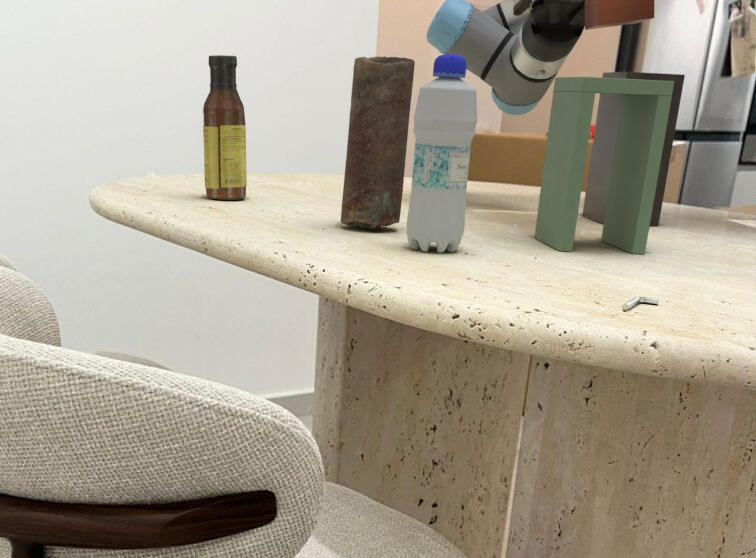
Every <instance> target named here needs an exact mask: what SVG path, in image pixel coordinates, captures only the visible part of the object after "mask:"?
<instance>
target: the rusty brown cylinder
mask: <svg viewBox="0 0 756 558" xmlns="http://www.w3.org/2000/svg"><path fill="white" fill-rule="evenodd" d="M415 65H416V62H415V60H414V59H412V58H408V57H398V56H389V57H388V56H370V57H366V56H361V57H360V56H359V57H356V58H355V59H354V64H353V73H352V86H351V94H350V95H351V97H350V110H349V119H348V120H349V121H348V131H347V132H348V134H347V145H346V156H345V167H344V177H343V188H342V199H341V212H340V223H341V224H343V225H347V226H353V227H355V228H359V229H362V230H364V229H365V230H378V229H380V228H382V227H389V226H392V225H395V224H399V223H400V219H401V211H402V210H401V209H402V203H403V192H404V181H405V171H406V159H407V158H406V157H407V149H408V137H409V126H410V125H409V124H410V114H411V104H412V96H413V86H414V75H415V67H416V66H415Z"/></svg>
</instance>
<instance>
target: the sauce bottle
mask: <svg viewBox="0 0 756 558" xmlns="http://www.w3.org/2000/svg"><path fill="white" fill-rule="evenodd" d="M237 59H238V58H237V56H236V55H228V54H227V55H225V54H224V55H223V54H215V55H208V66H209V77H210V79H209V80H210V83H209V93H208V94H207V96H206V99H205V101H204V103H203V107H202V110H203V111H202V113H203V125H202V133H203V137H202V138H203V165H204V169H203V170H204V171H203V172H204V188H205V192H206V193H205V194H206V197H207V198H208V199H210V200H217V201H218V200H219V201H238V200H243V199H245V198H246V197H247V186H248V185H247V184H248V183H247V181H248V180H247V131H246V130H247V127H246V116H245V114H246V113H245V107H244V104H243V101H242V99H241V96H240V94H239V92H238V89H237V86H238V84H237V67H238V60H237Z"/></svg>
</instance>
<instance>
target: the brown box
mask: <svg viewBox="0 0 756 558" xmlns="http://www.w3.org/2000/svg"><path fill="white" fill-rule="evenodd" d="M652 19H655V0H585V27H584V30H585V31H588V30H595V29H603V28H611V27H619V26H625V25H634V24H640V23H642V22H643V23H644V22H646V21H649V20H652Z"/></svg>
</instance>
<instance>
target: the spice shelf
mask: <svg viewBox="0 0 756 558" xmlns="http://www.w3.org/2000/svg"><path fill="white" fill-rule="evenodd" d="M685 77H686V74H680V73H660V72H659V73H657V72H640V71H614V72H610V71H609V72H602V77H601V78H620V79H640V80H659V81H674V86H673V92H672V98H671V104H670V110H669V116H668V121H667V127H666V133H665V139H664V145H663V151H662V156H661V162H660V168H659V174H658V180H657V185H656V191H655V197H654V203H653V209H652V214H651V220H650V226H649V227H659V225H660V220H661V219H660V218H661V213H662V208H663V201H664V196H665V190H666V184H667V179H668V174H669V168H670V162H671V156H672V152H673V151H672V150H673V146H674V145H673V144H674V139H675V134H676V128H677V122H678V117H679V110H680V105H681V99H682V94H683V88H684V83H685ZM623 96H624V95H622V94H601V93H599V97H598V105H597V112H596V119H595V126H594V132H593V138H592V147H591V153H590V158H589V160H590V161H589V166H588V167H589V168H588V174H587V181H586V188H585V195H584V201H583V207H582V215H581V216H582V217H583V218H587V219H589V220H592V221H595V222H597V223H600V224H602V225H604V218H605V212H606V205H607V199H608V192H609V186H610V180H611V173H612V167H613V160H614V154H615V147H616V141H617V134H618V128H619V121H620V115H621V108H622V102H623Z"/></svg>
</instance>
